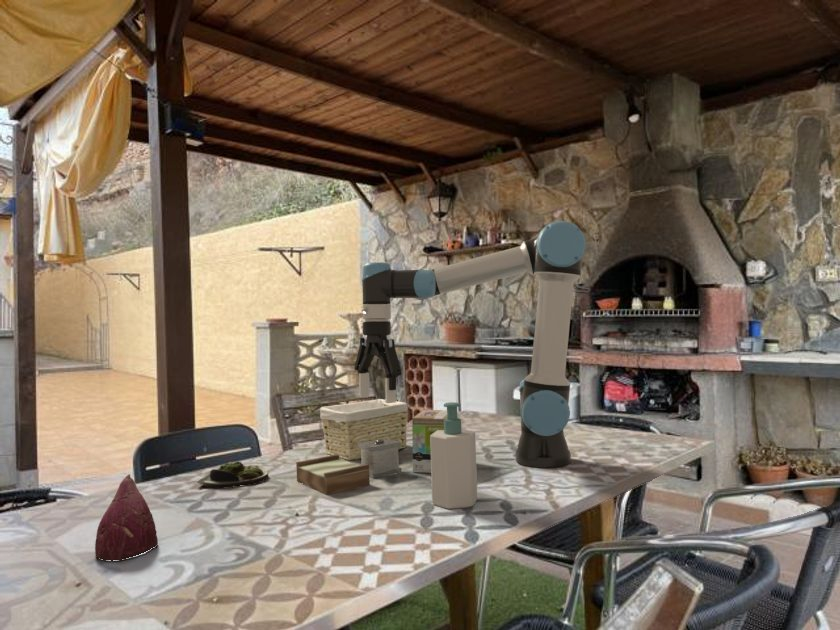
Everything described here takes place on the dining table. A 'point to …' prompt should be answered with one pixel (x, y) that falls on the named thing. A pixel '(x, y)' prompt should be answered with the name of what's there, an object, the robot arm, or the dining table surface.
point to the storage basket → (362, 425)
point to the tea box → (425, 437)
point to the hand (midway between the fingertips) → (377, 399)
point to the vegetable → (126, 525)
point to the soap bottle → (453, 463)
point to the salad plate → (233, 475)
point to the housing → (380, 457)
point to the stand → (332, 474)
